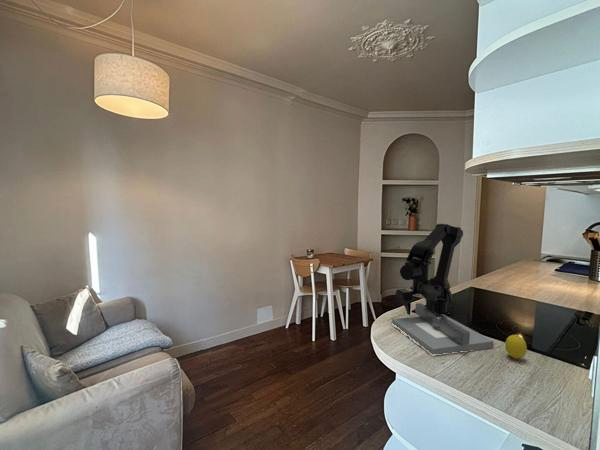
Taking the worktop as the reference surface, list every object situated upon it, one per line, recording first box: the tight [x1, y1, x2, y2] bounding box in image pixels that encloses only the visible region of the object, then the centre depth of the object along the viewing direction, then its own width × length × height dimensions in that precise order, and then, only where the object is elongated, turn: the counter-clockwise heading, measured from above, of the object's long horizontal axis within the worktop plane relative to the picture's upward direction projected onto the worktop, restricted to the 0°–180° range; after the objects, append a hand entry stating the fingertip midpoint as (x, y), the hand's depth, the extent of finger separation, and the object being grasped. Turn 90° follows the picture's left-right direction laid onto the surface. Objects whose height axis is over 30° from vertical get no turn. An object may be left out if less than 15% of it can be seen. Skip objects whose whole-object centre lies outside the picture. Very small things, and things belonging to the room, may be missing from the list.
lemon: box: [504, 333, 528, 360], centre depth 94 cm, size 6×6×8 cm
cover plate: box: [391, 314, 494, 354], centre depth 110 cm, size 24×24×3 cm
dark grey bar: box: [414, 302, 470, 345], centre depth 109 cm, size 27×4×4 cm, turn 11°
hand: (418, 313), depth 121 cm, fingers open, 9 cm apart
